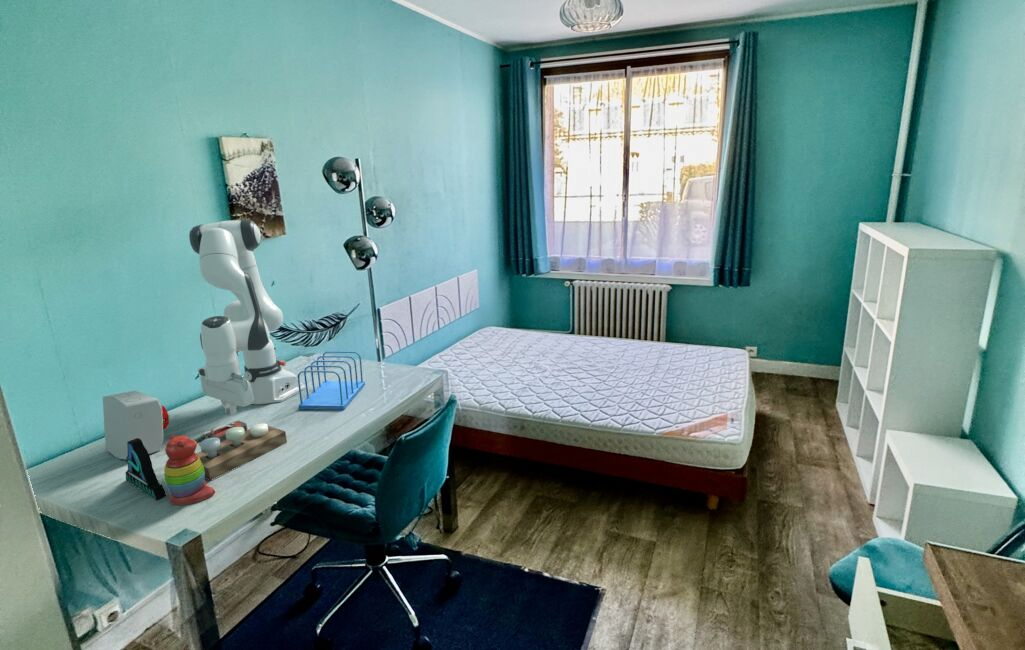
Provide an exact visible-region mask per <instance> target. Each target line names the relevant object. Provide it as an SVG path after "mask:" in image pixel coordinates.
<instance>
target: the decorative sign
mask: <svg viewBox="0 0 1025 650" xmlns="http://www.w3.org/2000/svg"><path fill="white" fill-rule="evenodd" d="M127 446H128V456H127V458H126V463H127V464H126V465H127V471H125V481H126V482H128V483H129V484H131V485H132V484H133V485H132V486H134V487H135V486H136V487H135V488H137V489H138V488H139V489H138V490H140V491H141V490H142V491H141V492H143V493H145V494H146V495H147V494H148V496H149V497H151V498H152V499H153V498H154V500H155V501H156V502H157V501H159V500H161V499H163V498H166V497H167V493H166V490H165V487H164V485H163V484H162V483H160V482H159V479H158V478H157V475H156V473H155V470H154V467H153V465H152V464H153V463H152V460H151V459H152V458H151V456H150V454H148V451H147V450H146V448H145V447H144V445H143V443H142V440H141V439H139V438H136V439H134V440H131V441H128V442H127Z"/></svg>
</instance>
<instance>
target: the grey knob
mask: <svg viewBox="0 0 1025 650" xmlns="http://www.w3.org/2000/svg"><path fill="white" fill-rule="evenodd" d="M199 447H200V450H201V451H202V452H204V453H207V454H208V459H213V458H215V457H217V451H216V450H218V449H220V447H221V443H220V439H219V438H208V439H203V440H201V441H200V443H199Z"/></svg>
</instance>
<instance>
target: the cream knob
mask: <svg viewBox="0 0 1025 650" xmlns="http://www.w3.org/2000/svg"><path fill="white" fill-rule="evenodd" d="M268 426H269V425H268V424H267V423H264V422H263V423H257V424H253V425H252V426H250V428H249V429H250V432H251V436H253V437H260V436H264V435H266V434H267V433H268V432H269V431H268Z"/></svg>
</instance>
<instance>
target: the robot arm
mask: <svg viewBox="0 0 1025 650" xmlns="http://www.w3.org/2000/svg"><path fill="white" fill-rule="evenodd" d="M188 235H189V236H188V237H189V244H190V246H191V249H192V250H193V252H194V253H196V254H197V255H198V257H199V260H198V261H199V270H200V274H201V278H203V280H204V281H205V282H207V283H208V284H210V285H211V286H213V287H216V288H218V289H221V290H225V291H229V292H231V293H232V294H233V295H234V296H235V297H236V298H237V300H233V301H230V302H229V303H227V305H226V306H225V308H224V309H223V316H222V315H217V316H211V317H208V318H206V319H203V320H202V322H201V323H200V324H201V325H200V334H199V340H200V345H201V350H202V351H203V353H204V355H205V366H202V367H199V368H198V369H197V373H198V376H200V378H199V379H200V384H201V388H202V392H203V394H204V395H205V396H206V397H210V398H214V399H216V400H220V403H221V404H222V406H223V408H224V410H225V412H224V413H226V414H228V415H232V416H233V415H236V414H237V406H240V407H247V406H249V405H266V404H272V403H280V402H283V401H285V400H288V399H290V398H291V397H293V396H294V395H296V394H298V393H299V386H298V376H297V375H296V374H295V373H293V372H291V371H289V370H286V369H284V368H282V367H285V366H286V364H287V362H286V360H277V358H276V351H275V345H274V342H273V341H272V339H271V338H270V337H271V334H270V332H275V331H276V330H278V329H279V328H281V326H282V324H283V322H284V314H283V311H282V309H281V308H280V307H278V306H277V305H276V304H275V303H274V301H273V300H272V299H271V297H270V296H269V294H268V292H267V291H266V289H265V287H264V285H263V283H262V278H261V276H260V272H259V269H258V264H257V262H256V257H255V255H254V251H255V250H256V249H257V248H258V247H259V246H260V244H261V238H262V234H261V231H260V228H259V227H258V225H257V223H255V221H253V220H252V219H251V220H250V219H241V220H239V219H238V220H237V219H236V220H222V221H219V222H218V221H217V222H211V223H206V224H199V225H195V226H194V227H192V228H191V229H190V230H189V234H188ZM238 352H242V356H243V361H244V366H243V369H244V374H245V375H242V369H241V365H240V358H239V356H238V354H237V353H238ZM300 387H301V392H302V391H304V390H305V389H306V385H305V384H304V383H302V382H300Z"/></svg>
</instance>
